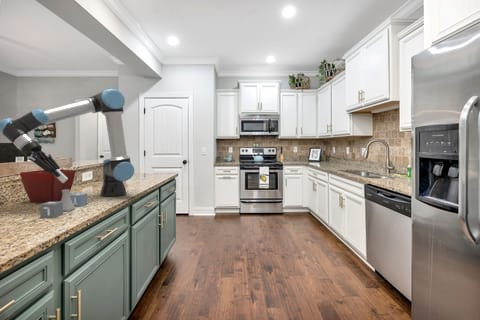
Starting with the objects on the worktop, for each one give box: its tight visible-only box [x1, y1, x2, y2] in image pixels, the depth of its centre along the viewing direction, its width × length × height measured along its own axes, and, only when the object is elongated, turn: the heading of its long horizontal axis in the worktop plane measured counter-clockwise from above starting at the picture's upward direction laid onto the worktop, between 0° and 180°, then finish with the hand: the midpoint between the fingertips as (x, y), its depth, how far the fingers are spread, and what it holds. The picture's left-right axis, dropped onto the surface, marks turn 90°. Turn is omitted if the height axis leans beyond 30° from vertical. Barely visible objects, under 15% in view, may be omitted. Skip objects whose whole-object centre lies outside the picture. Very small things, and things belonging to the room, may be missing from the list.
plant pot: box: [19, 169, 76, 203], centre depth 154 cm, size 19×19×17 cm
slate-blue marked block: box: [69, 192, 88, 208], centre depth 142 cm, size 6×6×6 cm
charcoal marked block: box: [39, 201, 64, 219], centre depth 120 cm, size 6×6×6 cm
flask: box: [60, 190, 76, 212], centre depth 131 cm, size 7×7×10 cm
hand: (65, 180), depth 131 cm, fingers closed
